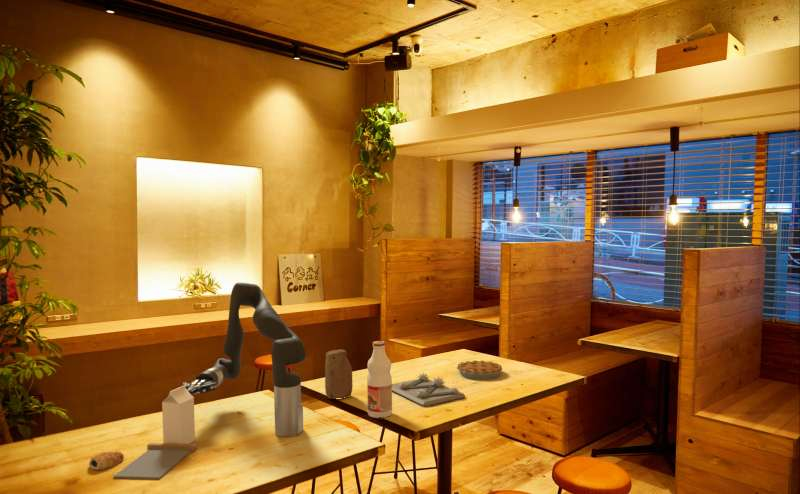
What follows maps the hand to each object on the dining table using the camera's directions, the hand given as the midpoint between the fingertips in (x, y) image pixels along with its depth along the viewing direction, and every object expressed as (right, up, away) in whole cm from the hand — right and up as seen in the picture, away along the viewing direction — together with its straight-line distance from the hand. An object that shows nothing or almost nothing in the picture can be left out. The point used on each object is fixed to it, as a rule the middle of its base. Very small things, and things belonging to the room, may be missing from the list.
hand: (187, 393), depth 191 cm
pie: (+112, -11, +75) cm, 136 cm away
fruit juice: (+66, -13, +20) cm, 70 cm away
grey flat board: (-2, -16, -22) cm, 27 cm away
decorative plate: (+85, -13, +45) cm, 97 cm away
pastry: (-17, -17, -21) cm, 32 cm away
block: (+48, -13, +42) cm, 65 cm away
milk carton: (0, -15, -6) cm, 17 cm away
